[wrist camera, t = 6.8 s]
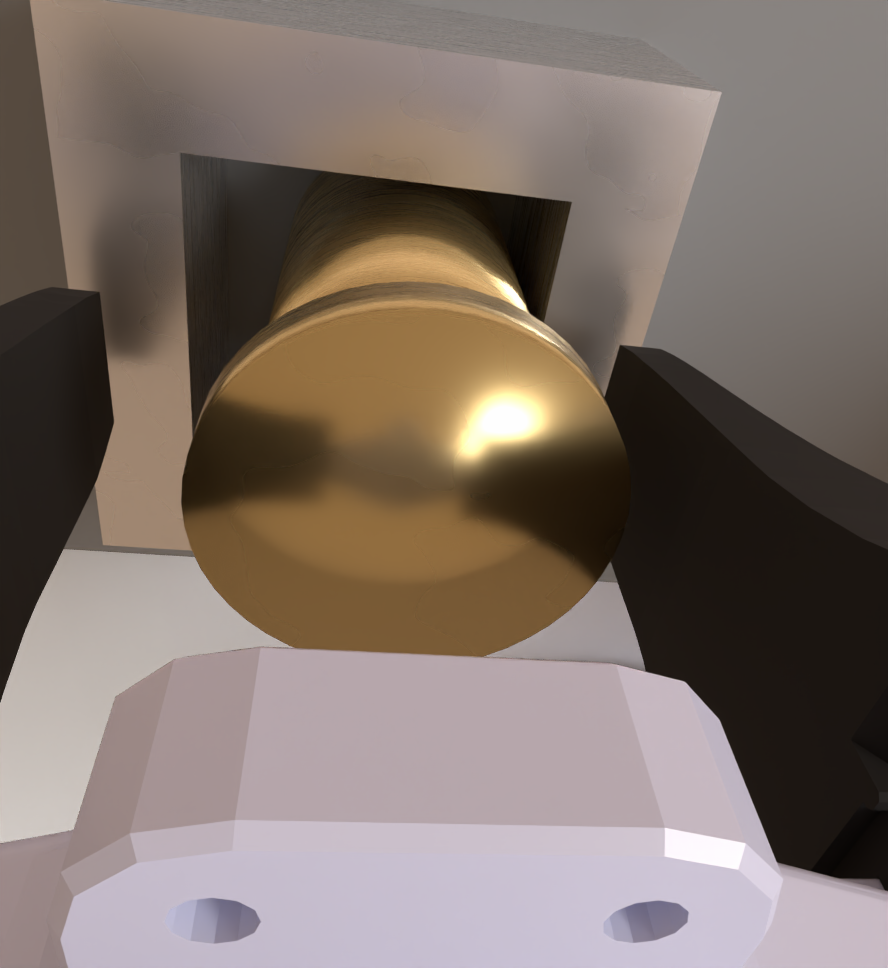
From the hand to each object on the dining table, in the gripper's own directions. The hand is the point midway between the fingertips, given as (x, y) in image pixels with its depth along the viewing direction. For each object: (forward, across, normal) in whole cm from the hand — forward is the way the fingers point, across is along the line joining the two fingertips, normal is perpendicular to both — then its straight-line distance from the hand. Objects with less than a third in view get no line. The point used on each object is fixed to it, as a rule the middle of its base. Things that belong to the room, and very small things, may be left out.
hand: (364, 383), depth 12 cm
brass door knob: (+5, 0, 0) cm, 5 cm away
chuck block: (+5, 0, 0) cm, 5 cm away
